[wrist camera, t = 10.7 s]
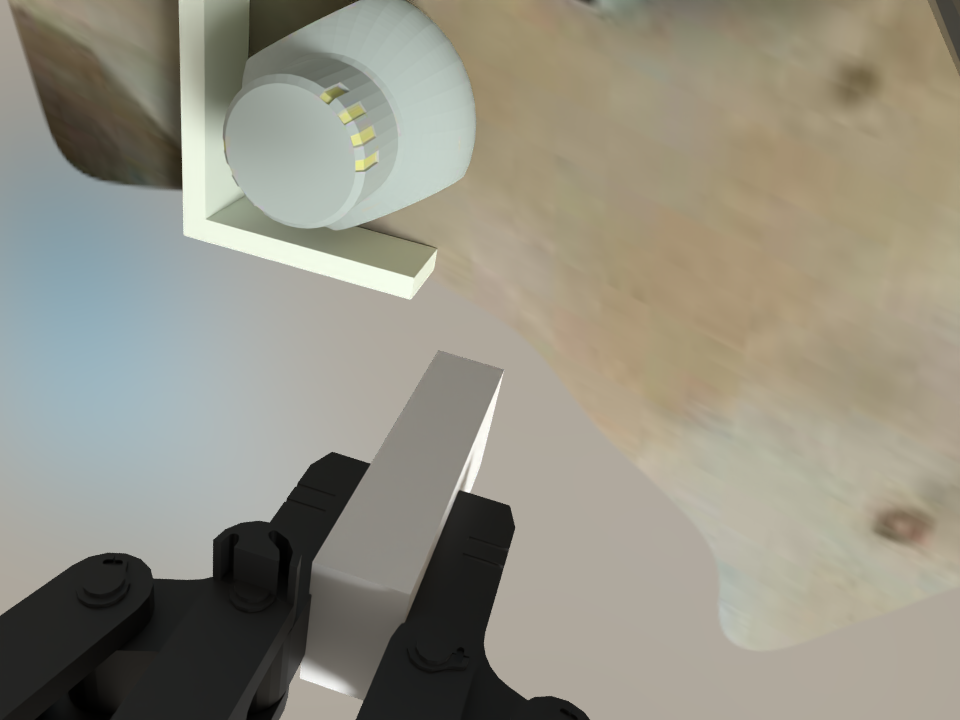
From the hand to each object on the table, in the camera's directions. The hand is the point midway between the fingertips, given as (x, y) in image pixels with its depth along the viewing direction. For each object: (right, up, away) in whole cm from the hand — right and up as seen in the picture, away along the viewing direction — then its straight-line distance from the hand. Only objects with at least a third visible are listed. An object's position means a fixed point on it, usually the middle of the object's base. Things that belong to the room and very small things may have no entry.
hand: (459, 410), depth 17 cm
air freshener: (-4, +14, +20) cm, 25 cm away
